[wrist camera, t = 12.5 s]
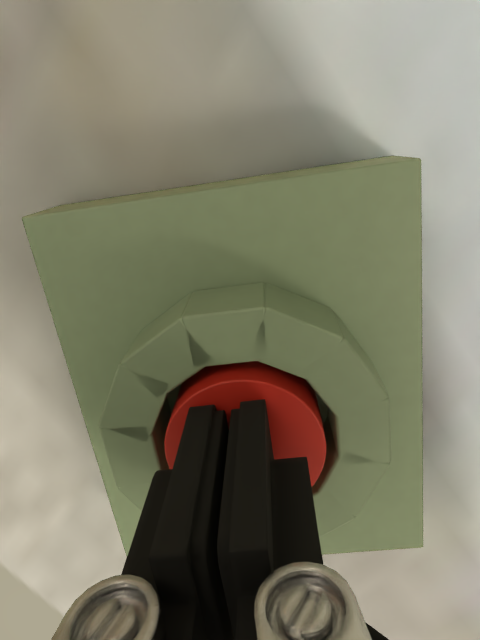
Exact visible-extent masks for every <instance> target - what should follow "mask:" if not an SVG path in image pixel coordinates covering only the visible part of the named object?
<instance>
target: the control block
mask: <svg viewBox="0 0 480 640" xmlns="http://www.w3.org/2000/svg"><path fill="white" fill-rule="evenodd" d="M22 221H23V224H24V227H25V230H26V234H27V237H28V240H29V243H30V247H31V250H32V253H33V256H34V259H35V263H36V266H37V269H38V272H39V276H40V279H41V282H42V285H43V288H44V292H45V295H46V298H47V301H48V305H49V308H50V311H51V314H52V317H53V321H54V324H55V327H56V330H57V333H58V337H59V340H60V343H61V346H62V350H63V353H64V356H65V359H66V362H67V366H68V369H69V372H70V375H71V379H72V382H73V385H74V388H75V391H76V395H77V398H78V401H79V404H80V408H81V411H82V414H83V417H84V420H85V424H86V427H87V430H88V433H89V437H90V440H91V443H92V446H93V449H94V453H95V456H96V459H97V462H98V466H99V469H100V472H101V475H102V478H103V482H104V485H105V488H106V491H107V494H108V498H109V501H110V504H111V507H112V511H113V514H114V517H115V520H116V523H117V527H118V530H119V533H120V536H121V540H122V543H123V546H124V549H125V552H126V556H128V553H129V550H130V547H131V543H132V540H133V537H134V534H135V531H136V528H137V525H138V522H139V519H140V516H141V512H142V509H143V506H144V503H145V500H146V497H147V494H148V491H149V488H150V485H151V482H152V478H153V476H154V474H155V472H156V471H158V470H167V469H169V466H168V463H167V460H166V455H165V448H164V440H165V434H166V430H167V426H168V423H169V420H170V417H171V414H172V411H173V408H174V405H175V402H176V399H177V396H178V393H179V390H180V387H181V385H182V383H183V382H184V381H186V380H187V379H189V378H190V377H191V376H193V375H194V374H196V373H197V372H199V371H200V370H201V369H203V368H204V367H206V366H215V365H224V364H233V363H242V362H251V361H259V362H262V363H264V364H267V365H270V366H272V367H275V368H278V369H280V370H283V371H285V372H288V373H291V374H293V375H296V376H299V377H301V378H304V379H306V380H307V382H308V383H309V384H310V385H311V387H312V388H313V389H314V390H315V393H316V396H317V401H318V406H319V410H320V415H321V419H322V424H323V429H324V433H325V439H326V459H325V463H324V466H323V469H322V472H321V474H320V476H319V478H318V479H317V481H316V482H315V484H314V485H313V486H312V494H313V500H314V507H315V513H316V520H317V527H318V533H319V540H320V546H321V553H322V554H336V553H350V552H364V551H378V550H392V549H406V548H420V547H423V419H422V213H421V159H420V158H412V157H401V156H387V157H380V158H373V159H367V160H360V161H353V162H346V163H340V164H333V165H326V166H320V167H313V168H306V169H300V170H293V171H286V172H279V173H273V174H266V175H259V176H253V177H246V178H239V179H233V180H226V181H219V182H212V183H206V184H199V185H192V186H186V187H179V188H172V189H166V190H159V191H152V192H145V193H139V194H132V195H125V196H119V197H112V198H105V199H99V200H92V201H85V202H79V203H72V204H65V205H60V206H56V207H53V208H50V209H47V210H43V211H40V212H37V213H34V214H30V215H27V216H24V217H22Z"/></svg>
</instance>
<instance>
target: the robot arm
mask: <svg viewBox="0 0 480 640" xmlns="http://www.w3.org/2000/svg"><path fill="white" fill-rule="evenodd" d="M52 640H388V639H387V638H386V637H384V636H383V635H382V634H380V633H379V632H378V631H376V630H375V629H374V628H372V627H371V626H370V625H368V624H367V623H366V622H365V620H364V618H363V615H362V613H361V610H360V607H359V605H358V602H357V599H356V597H355V594H354V593H353V591H352V589H351V587H350V586H349V584H348V582H347V581H346V580H345V579H344V578H343V577H342V576H341V575H340V574H338V573H337V572H336V571H334V570H333V569H331V568H329V567H327V566H325V565H323V560H322V553H321V546H320V540H319V533H318V527H317V520H316V513H315V507H314V500H313V494H312V487H311V480H310V474H309V467H308V461H307V456H306V457H295V458H285V459H274V456H273V449H272V442H271V435H270V428H269V421H268V414H267V407H266V401H265V399H261V400H252V401H242V402H240V408H239V409H232V410H231V417H230V426H229V428H228V423H227V417H226V413H225V410H219V411H217V410H216V406H215V405H204V406H195V407H190V408H189V410H188V414H187V417H186V421H185V425H184V428H183V432H182V436H181V439H180V443H179V447H178V451H177V454H176V458H175V462H174V465H173V469H167V470H158V471H156V472H155V474H154V476H153V478H152V482H151V485H150V488H149V491H148V494H147V497H146V500H145V503H144V506H143V509H142V512H141V516H140V519H139V522H138V525H137V528H136V531H135V534H134V537H133V540H132V543H131V547H130V550H129V553H128V556H127V559H126V562H125V565H124V568H123V571H122V574H121V575H118V576H113V577H110V578H108V579H105V580H102V581H100V582H98V583H97V584H95V585H93V586H92V587H90V588H88V589H87V590H86V591H85V592H84V593H83V594H82V595H81V596H79V597H78V598H77V599H76V600H75V601H74V603H73V604H72V606H71V607H70V608H69V610H68V611H67V613H66V614H65V616H64V618H63V619H62V621H61V623H60V625H59V627H58V628H57V630H56V632H55V634H54V636H53V637H52Z"/></svg>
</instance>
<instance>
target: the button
mask: <svg viewBox="0 0 480 640" xmlns="http://www.w3.org/2000/svg"><path fill="white" fill-rule="evenodd" d="M261 399H265V401H266V407H267V414H268V421H269V428H270V435H271V442H272V449H273V456H274V459H285V458H295V457H306V456H307V461H308V467H309V474H310V480H311V487H312V486H313V485H314V484H315V482H316V481H317V479H318V478H319V476H320V474H321V472H322V469H323V466H324V463H325V459H326V439H325V433H324V429H323V424H322V419H321V415H320V410H319V406H318V401H317V396H316V393H315V390H314V389H313V388H312V387H311V385H310V384H309V383H308V382H307V380H306V379H304V378H301V377H299V376H296V375H293V374H291V373H288V372H285V371H283V370H280V369H278V368H275V367H272V366H270V365H267V364H264V363H262V362H259V361H251V362H242V363H233V364H224V365H215V366H206V367H204V368H203V369H201V370H200V371H199V372H197V373H196V374H194V375H193V376H191V377H190V378H189V379H187V380H186V381H184V382H183V383H182V385H181V387H180V390H179V393H178V396H177V399H176V402H175V405H174V408H173V411H172V414H171V417H170V420H169V423H168V426H167V430H166V434H165V440H164V448H165V455H166V460H167V463H168V466H169V469H173V465H174V462H175V458H176V454H177V451H178V447H179V443H180V439H181V436H182V432H183V428H184V425H185V421H186V417H187V414H188V410H189V408H190V407H195V406H204V405H215V406H216V410H217V411H219V410H225V413H226V417H227V423H228V428H229V426H230V417H231V410H232V409H239V408H240V402H242V401H252V400H261Z"/></svg>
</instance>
